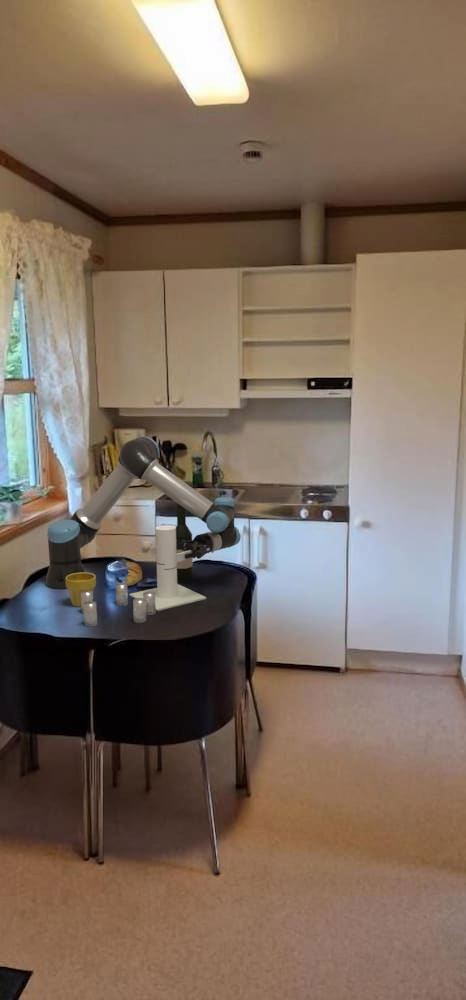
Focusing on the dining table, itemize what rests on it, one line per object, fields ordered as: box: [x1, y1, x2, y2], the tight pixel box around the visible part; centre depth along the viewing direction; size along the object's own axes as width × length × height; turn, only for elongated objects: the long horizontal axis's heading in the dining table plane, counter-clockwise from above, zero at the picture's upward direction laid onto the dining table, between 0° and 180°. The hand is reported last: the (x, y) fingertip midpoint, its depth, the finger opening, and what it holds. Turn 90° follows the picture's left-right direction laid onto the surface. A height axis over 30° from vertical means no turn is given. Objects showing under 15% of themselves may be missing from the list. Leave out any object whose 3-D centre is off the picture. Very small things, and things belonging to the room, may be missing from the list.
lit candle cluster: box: [80, 582, 157, 627], centre depth 223 cm, size 22×24×7 cm
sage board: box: [128, 583, 207, 612], centre depth 241 cm, size 20×20×1 cm
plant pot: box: [66, 571, 97, 607], centre depth 235 cm, size 10×10×10 cm
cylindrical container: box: [155, 524, 178, 599], centre depth 239 cm, size 7×7×25 cm
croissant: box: [125, 561, 143, 587], centre depth 262 cm, size 21×10×8 cm, turn 8°
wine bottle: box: [175, 502, 194, 580], centre depth 263 cm, size 8×8×30 cm
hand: (163, 554), depth 237 cm, fingers open, 13 cm apart
